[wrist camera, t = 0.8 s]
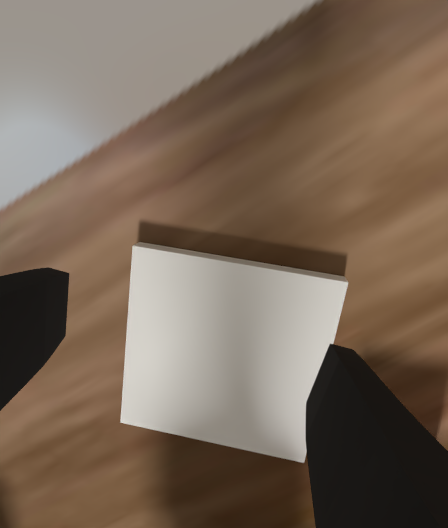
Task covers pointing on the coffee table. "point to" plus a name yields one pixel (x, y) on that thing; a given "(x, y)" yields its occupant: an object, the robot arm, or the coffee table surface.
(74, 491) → the coffee table surface
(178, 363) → the base plate
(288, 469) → the coffee table surface
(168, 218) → the coffee table surface
